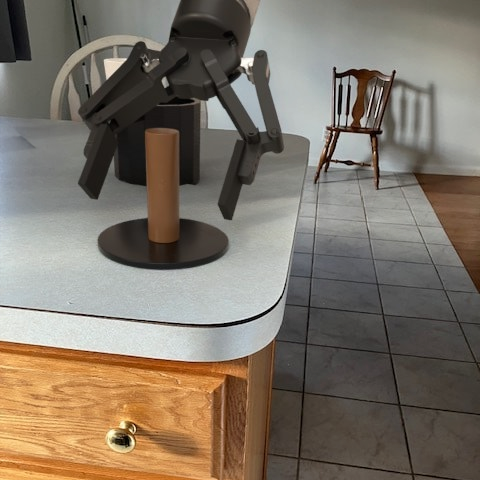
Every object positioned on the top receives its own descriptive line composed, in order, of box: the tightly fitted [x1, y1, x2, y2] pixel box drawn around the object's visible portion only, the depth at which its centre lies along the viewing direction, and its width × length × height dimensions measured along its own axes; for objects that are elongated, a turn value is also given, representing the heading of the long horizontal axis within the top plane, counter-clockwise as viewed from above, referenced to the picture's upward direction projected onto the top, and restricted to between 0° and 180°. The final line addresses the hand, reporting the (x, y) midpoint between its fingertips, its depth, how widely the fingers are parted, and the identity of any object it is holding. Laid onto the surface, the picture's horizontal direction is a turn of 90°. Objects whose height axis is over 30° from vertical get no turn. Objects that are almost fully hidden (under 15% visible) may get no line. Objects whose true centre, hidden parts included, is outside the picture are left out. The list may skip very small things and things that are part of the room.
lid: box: [97, 128, 229, 270], centre depth 51 cm, size 13×13×11 cm
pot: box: [113, 95, 202, 187], centre depth 73 cm, size 12×17×10 cm
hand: (153, 202), depth 49 cm, fingers open, 13 cm apart
